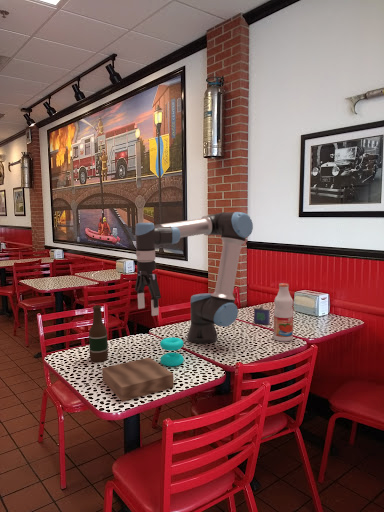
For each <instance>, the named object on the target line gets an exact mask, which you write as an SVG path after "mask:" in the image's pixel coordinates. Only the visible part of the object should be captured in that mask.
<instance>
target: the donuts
mask: <svg viewBox="0 0 384 512" xmlns="http://www.w3.org/2000/svg"><path fill="white" fill-rule="evenodd" d="M159 345H160V348H161V349H163V350H166V351H168V352H166V353H164V354H163V355H162V356H160V363H161V364H162V366H163V365H164V366H166V367H177V366H181V364H183V363H184V361H185V360H184V359H185V358H184V356H183V355H182V353H178V352H174V351H178V350H180V349H181V348H183V346H184V341H183V340H182V338H179V337H174V336H173V337H171V336H170V337H164V338H162V339H161V340H160V342H159ZM169 351H170V352H169ZM171 351H172V352H171Z"/></svg>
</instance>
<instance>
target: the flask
mask: <svg viewBox="0 0 384 512" xmlns="http://www.w3.org/2000/svg"><path fill="white" fill-rule="evenodd" d="M270 312H271V310H270V308H264V305H260V306H257V307H254V308H253V324H254V325H255V324H256V325H263V326H269V325H271V323H270V316H271V313H270Z"/></svg>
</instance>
